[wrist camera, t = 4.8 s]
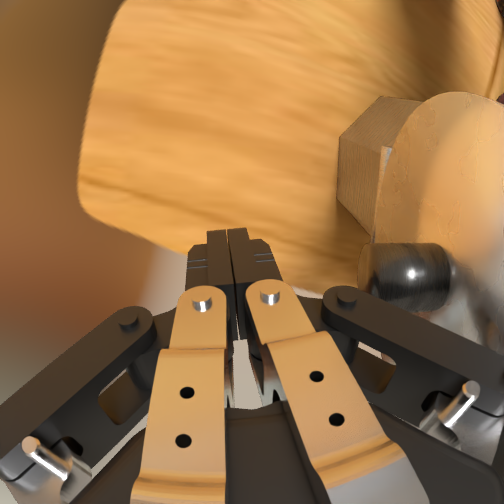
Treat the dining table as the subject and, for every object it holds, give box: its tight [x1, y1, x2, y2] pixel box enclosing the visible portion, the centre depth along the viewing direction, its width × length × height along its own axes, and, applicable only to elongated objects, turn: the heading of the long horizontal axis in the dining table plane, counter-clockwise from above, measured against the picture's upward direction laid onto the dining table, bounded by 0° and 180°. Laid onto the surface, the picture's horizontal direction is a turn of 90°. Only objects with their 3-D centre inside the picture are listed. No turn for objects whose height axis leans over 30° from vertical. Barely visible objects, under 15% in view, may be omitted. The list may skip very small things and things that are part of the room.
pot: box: [336, 96, 424, 236], centre depth 21 cm, size 13×17×8 cm
